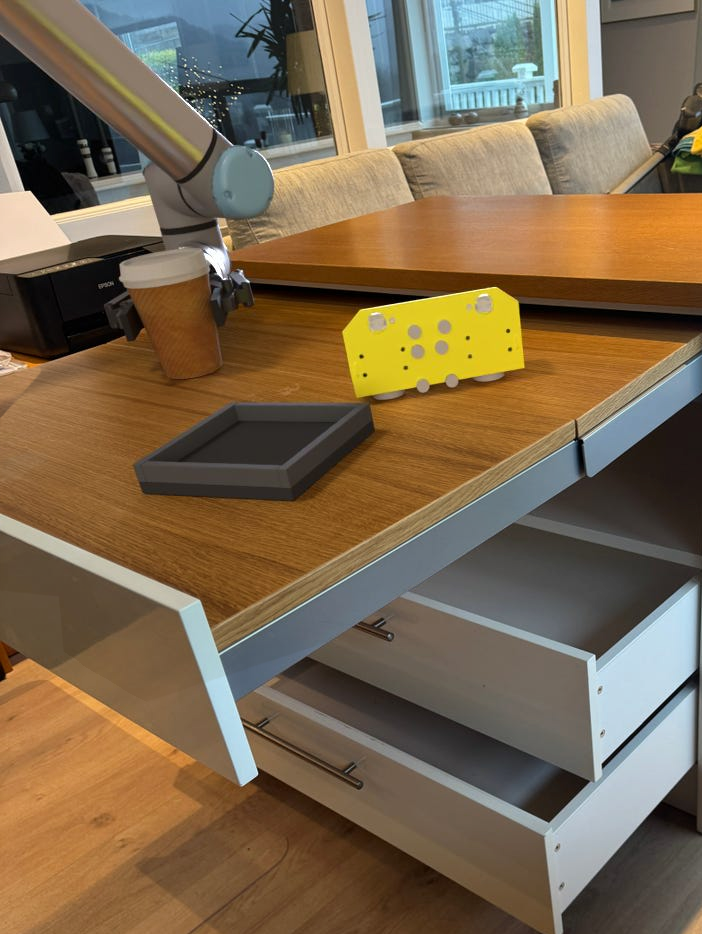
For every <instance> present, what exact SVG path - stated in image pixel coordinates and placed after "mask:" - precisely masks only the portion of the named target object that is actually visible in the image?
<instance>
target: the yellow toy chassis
mask: <svg viewBox="0 0 702 934" xmlns="http://www.w3.org/2000/svg"><path fill="white" fill-rule="evenodd" d="M520 315H521V314H520V304H519V300H517V299H515V298H514V297H512V296H511V295H509V294H508V293H506V292H505V291H504V290H502V289H500V288H499V287H497V286H493V287H486V288H481V289H476V290H470V291H464V292H458V293H451V294H446V295H445V294H444V295H439V296H435V297H428V298H422V299H416V300H415V299H414V300H410V301H404V302H398V303H393V304H387V305H380V306H374V307H369V308H363V309H359V310H358V312H357V313H356V314H355V316H354V317H353V318H352V319H351V320H350V321H349V323H348V324H347V325H346V326H345V328H344V329H343V330H342V331H341V332H342V338H343V342H344V347H345V353H346V357H347V363H348V367H349V373H350V377H351V382H352V384H353V390H354V394H355V398H356V399H359V398H364V397H371V396H372V398H373V399H374V400H379V401H383V400H392V399H395V398H399V397H401V396H403V395H405V392H406V390H408V389H414V388H416V390H417V391H418V392H420V393H422V394H423V393H427V392H428V391H429V389H430V386H432V385H436V384H442V383H445V384H446V386H447V387H448V388H455V387H457V386H458V384H459V380H465V379H469V378H472V380H473V381H476V382H492V381H497V380H500V379H502V378H504V377H505V372H509V371H515V370H521V369H525V357H524V347H523V337H522V336H523V335H522V326H521V316H520Z"/></svg>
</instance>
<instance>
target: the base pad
mask: <svg viewBox="0 0 702 934" xmlns="http://www.w3.org/2000/svg"><path fill="white" fill-rule="evenodd" d="M372 412H373V411H372V407H371V403H370V402H271V401H269V402H267V401H265V402H263V401H261V402H255V401H253V402H247V401H246V402H245V401H243V402H242V401H241V402H239V401H237V402H236V401H231V402H230V403H228V404H226V405H225V406H223V407H221V408H220V409H217V411H215V412H214V413H212V414H210V415H209V416H207V417H206V418H204V419H203V420H201V421H199V422H198V423H196V424H194V425H193V426H192V427H190V428H188V429H186V430H185V431H183V432H181V433H180V434H179V435H177V436H175V437H174V438H172V439H171V440H169V441H168V442H166V443H164V444H162V445H161V446H160V447H158V448H156V449H154V450H153V451H151V452H150V453H148V454H147V455H145V456H143V457H142V458H140V459H139V460H137V461H135V462H134V463H132V468H133V470H134V473H135V475H136V476H135V477H136V479H137V482H138V484H139V487H140V490H141V493H142V494H146V495H165V496H166V495H167V496H170V495H171V496H184V497H185V496H186V497H187V496H189V497H209V498H228V499H249V500H267V501H268V500H270V501H287V502H289V501H290V502H292V501H295V500H296V499H298V498H299V497H300V496H301V495H302V494H304V493H305V492H306V491H307V490H308V489H309V488H310V487H311V486H313V485H314V484H315V483H316V482H318V481H319V480H320V479H321V478H322V477H323V476H324V475H325V474H327V473H328V472H329V471H330V470H332V468H333V467H335V466H336V465H337V464H338V463H340V462H341V461H342V460H343V459H344V458H346V456H348V455H349V454H350V453H351V452H352V451H353V450H354V449H355V448H357V447H358V446H359V445H361V443H362V442H364V441H365V440H366V439H367V438H368V437H369V436H371V435H372V434H373V433H374V432H375V431H376V429H375V424H374V418H373V413H372Z"/></svg>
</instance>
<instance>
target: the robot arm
mask: <svg viewBox="0 0 702 934" xmlns="http://www.w3.org/2000/svg"><path fill="white" fill-rule="evenodd" d="M0 36H1V37H2V38H3V39H5V40H6V41H8V43H10V44H11V45H12V46H13V47H14V48H16V49H17V50H18V51H19V52H20V53H21V54H23V55H24V56H25V57H26V58H28V59H29V60H30V61H31V62H32V63H34V65H36V66H37V67H38V68H40V69H41V70H42V71H43V72H44V73H46V75H48V76H49V77H50V78H51V79H53V80H54V81H55V82H56V83H57V84H59V85H60V86H61V87H62V88H63V89H64V90H66V91H67V92H68V93H69V94H70V95H71V96H73V97H74V98H75V99H76V100H78V101H79V102H80V103H81V104H82V105H84V107H86V108H87V109H89V110H90V111H91V113H93V114H94V115H96V117H98V118H99V119H100V120H102V121H103V122H104V123H105V124H106V125H108V126H109V127H110V128H111V129H112V130H114V131H115V132H116V133H117V134H118V135H120V137H122V138H123V139H124V140H126V141H127V143H129V144H130V145H131V146H133V147H134V148H135V149H136V150H137V153H138V156H139V161H140V166H141V174H142V176H143V178H144V181H145V184H146V188H147V191H148V194H149V197H150V200H151V203H152V207H153V210H154V213H155V217H156V219H157V223H158V227H159V231H160V236H161V239H162V242H163V246H164V249H165V251H167V250H173V249H183V248H199V249H202V251H203V253H204V255H205V257H206V259H207V260H209V261H210V265H209V269H210V271H209V272H208V273H209V281H210V287H211V293H212V297H211V299H210V303H211V306H212V310H213V314H214V317H215V321H216V326H217V328H220V327H221V328H222V327H225V325H226V322H227V319H228V316H229V313H232V312H235V311H236V310H238V309H239V305H242V306H243V307H244V308H252V307H254V306H255V305H256V303H255V300H254V296H253V291H252V287H251V284H250V281H249V280H248V279H246V277H245V274H244V271H243V269H239V268H237V269H234V270H233V271H231V270H232V260H231V257H230V253H229V249H228V248H227V247H226V245H225V243H224V239H223V236H222V232H221V227H220V223H219V220H218V219H227V220H232V221H241V220H245V219H253V218H257V217H259V216H261V215H263V214H264V213H265V212H266V211H267V210H268V208H269V207H270V206H271V203H272V201H273V199H274V196H275V178H274V174H273V170H272V168H271V166H270V164H269V162H268V161H267V159H266V158H265V157H264V156H263V155H262V154H261V153H259V151H257V150H255V149H252V148H250V147H246V146H243V145H240V144H233V143H231V142H230V141H229V140H228V138H226V137H225V136H224V135H223V134H222V133H220V132H219V131H218V130H217V129H216V128H215V127H214V126H213V125H212V124H210V123H209V122H208V121H207V119H206V118H204V116H202V115H201V114H200V113H199V112H197V110H196V109H194V107H192V106H191V105H190V104H189V103H188V102H187V101H186V100H185V99H184V98H183V97H182V96H180V94H179V93H177V92H176V91H175V89H173V88H172V87H171V86H170V85H169V84H168V83H167V82H166V81H164V79H163V78H162V77H160V76H159V74H157V73H156V72H155V71H154V70H153V69H152V68H151V67H150V66H148V65H147V63H146V62H144V61H143V60H142V59H141V58H140V56H138V55H137V54H136V53H135V52H134V51H133V50H132V49H131V48H130V47H128V46H127V44H125V43H124V42H123V41H122V40H121V39H120V38H119V37H118V36H117V35H116V34H115V33H113V32H112V30H110V29H109V28H108V27H107V26H106V25H105V24H104V23H103V22H102V21H101V20H100V19H99V18H98V17H97V16H96V15H94V13H93V12H91V11H90V10H89V9H88V8H87V7H86V6H85V5H84V4H83V3H82V2H81V1H80V0H0ZM103 308H104V310H105V314H106V316H107V320H108V322H109V325H110V328H111V329H120V330H123V333H124V336H125V339H126V342H127V343H130V342H135V341H136V340H137V338H138V336H139V335H140V333H141V331H142V330H143V328H145V327H144V325H143V323H142V321H141V318H140V316H139V314H138V312H137V309H136V307H135V305H134V303H133V301H132V298H131V296H130V294H129V292H128V289H127V288H126V291H124V292H123V293H121V294H119V295H118V296H115V297H114V298H113V299H111V300H109V301H108V302H106V303H104V305H103Z"/></svg>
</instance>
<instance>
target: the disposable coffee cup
mask: <svg viewBox="0 0 702 934" xmlns="http://www.w3.org/2000/svg"><path fill="white" fill-rule="evenodd" d="M209 265H210V261H209V260H207V259H206V257H205V255H204V253H203V251H202V249H199V248H183V249H173V250H167V251H166V250H161V251H156V252H151V253H147V254H142V255H138V256H135V257H132V258H131V257H130V258H129V259H126V260H124V261H122V262H120V263H119V271H120V272H119V273H120V276H119V277H118V280H119V282H121V283H122V284H123V287H124V288H126V290H127V289H128V292H129V294H130V296H131V298H132V301H133V303H134V305H135V307H136V309H137V312H138V314H139V316H140V318H141V321H142V323H143V326H144V327H143V328H144V329H145V332H146V334H147V337H148V338H149V341H150V343H151V345H152V347H153V349H154V352H155V354H156V356H157V358H158V360H159V363H160V365H161V367H162V369H163V372H164V374H165V376H166V378H167V379H173V380H187V379H192V378H193V379H194V378H199V377H202V376H206V375H209V374H212V373H214V372H216V371H217V370H219V369H221V368H222V367H223V359H222V352H221V345H220V341H219V334H218V327H217V325H216V321H215V317H214V314H213V310H212V306H211V303H210V299H211V297H212V293H211V287H210V281H209V273H208V272H209V271H210V269H209Z"/></svg>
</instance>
